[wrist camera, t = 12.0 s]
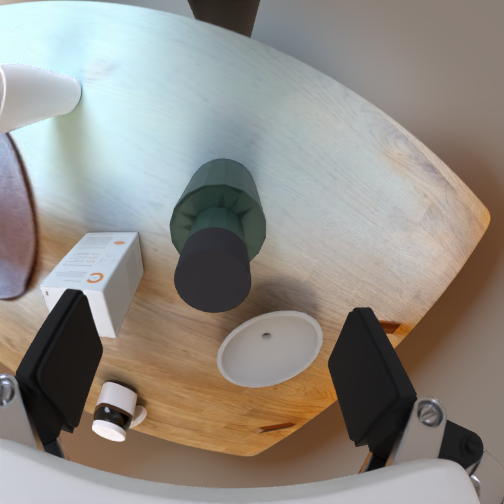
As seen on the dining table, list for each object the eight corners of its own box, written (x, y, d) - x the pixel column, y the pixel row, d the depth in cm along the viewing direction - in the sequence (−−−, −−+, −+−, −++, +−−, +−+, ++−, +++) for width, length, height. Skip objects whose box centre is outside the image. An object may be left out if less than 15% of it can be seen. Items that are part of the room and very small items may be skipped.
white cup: (82, 122, 27) (0, 140, 14) (43, 120, 26) (-39, 140, 12) (93, 69, 24) (13, 57, 11) (52, 70, 23) (-29, 68, 9)
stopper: (179, 220, 21) (159, 267, 15) (230, 196, 21) (230, 235, 15) (206, 265, 23) (198, 322, 17) (254, 244, 23) (263, 297, 17)
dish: (270, 374, 49) (273, 395, 44) (199, 348, 44) (197, 371, 40) (335, 311, 42) (344, 333, 38) (260, 271, 38) (263, 293, 34)
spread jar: (109, 371, 47) (95, 418, 37) (159, 394, 51) (151, 441, 41) (97, 393, 51) (84, 434, 41) (140, 412, 55) (132, 453, 45)
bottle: (179, 176, 31) (137, 232, 17) (238, 147, 30) (243, 180, 16) (208, 229, 35) (194, 314, 21) (264, 204, 34) (288, 277, 20)
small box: (95, 271, 36) (56, 331, 25) (86, 231, 34) (37, 284, 22) (145, 273, 37) (117, 340, 26) (139, 231, 34) (101, 290, 23)
